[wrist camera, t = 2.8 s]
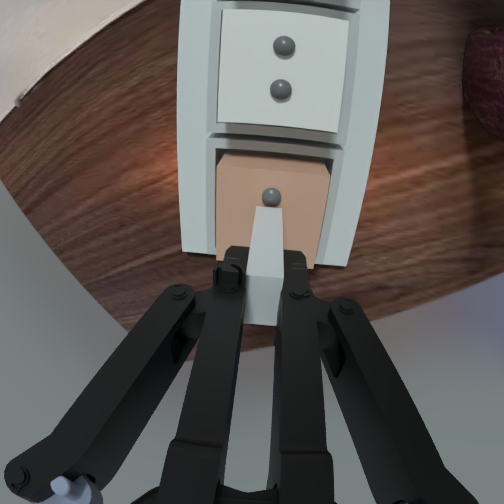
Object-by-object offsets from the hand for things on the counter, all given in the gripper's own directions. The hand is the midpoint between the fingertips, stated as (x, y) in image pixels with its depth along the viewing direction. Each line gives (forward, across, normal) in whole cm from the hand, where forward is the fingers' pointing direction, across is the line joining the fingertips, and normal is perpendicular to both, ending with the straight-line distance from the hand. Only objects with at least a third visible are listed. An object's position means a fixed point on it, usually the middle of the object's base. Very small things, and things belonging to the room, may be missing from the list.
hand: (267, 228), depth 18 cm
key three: (+3, 0, 0) cm, 3 cm away
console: (+6, 0, +9) cm, 11 cm away
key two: (+3, 0, +9) cm, 10 cm away
